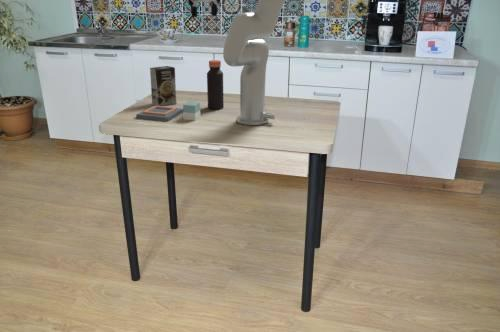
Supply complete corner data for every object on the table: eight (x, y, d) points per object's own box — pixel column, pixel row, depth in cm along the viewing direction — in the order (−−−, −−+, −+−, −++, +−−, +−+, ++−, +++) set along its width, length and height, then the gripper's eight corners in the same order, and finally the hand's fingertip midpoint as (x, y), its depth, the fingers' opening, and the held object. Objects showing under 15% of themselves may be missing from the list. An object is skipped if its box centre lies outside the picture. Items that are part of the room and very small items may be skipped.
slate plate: (183, 112, 196) (183, 106, 195) (168, 121, 183) (167, 115, 182) (153, 109, 200) (153, 104, 199) (136, 118, 187) (136, 112, 186)
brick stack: (200, 117, 189) (199, 102, 187) (195, 120, 185) (194, 105, 182) (189, 116, 191) (188, 101, 188) (183, 119, 186) (183, 104, 184)
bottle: (221, 110, 199) (220, 62, 192) (206, 109, 200) (204, 62, 193) (225, 106, 205) (224, 59, 198) (210, 105, 206) (208, 59, 199)
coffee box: (159, 107, 204) (156, 69, 197) (151, 104, 208) (149, 67, 202) (177, 103, 209) (175, 67, 203) (169, 101, 214) (167, 65, 207)
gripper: (189, -29, 180) (191, 17, 187) (226, -29, 190) (226, 16, 197) (179, -29, 186) (181, 16, 192) (215, -29, 196) (216, 14, 202)
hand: (204, 16), depth 194 cm, fingers open, 9 cm apart
